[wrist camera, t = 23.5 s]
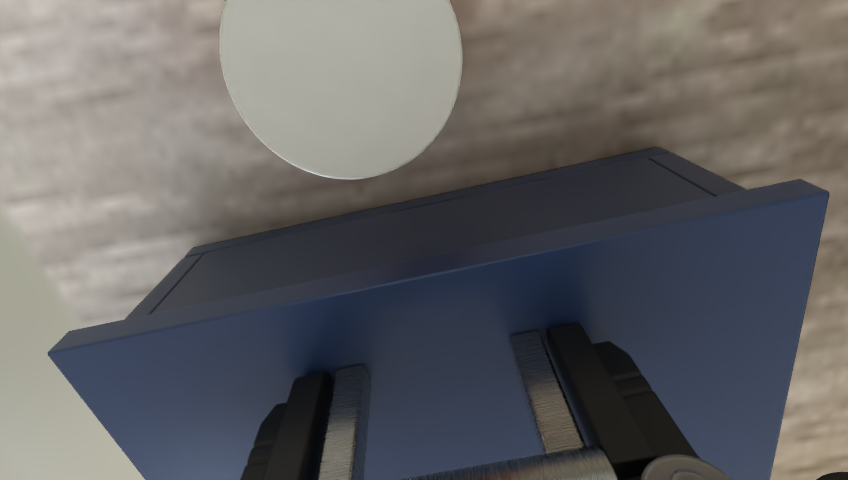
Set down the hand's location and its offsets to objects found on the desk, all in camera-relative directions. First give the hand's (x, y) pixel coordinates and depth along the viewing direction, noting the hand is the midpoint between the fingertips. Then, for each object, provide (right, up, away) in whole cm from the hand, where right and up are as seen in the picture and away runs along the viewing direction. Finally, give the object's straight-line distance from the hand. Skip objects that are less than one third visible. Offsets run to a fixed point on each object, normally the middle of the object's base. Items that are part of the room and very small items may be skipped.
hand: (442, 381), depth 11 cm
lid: (+1, -4, +3) cm, 5 cm away
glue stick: (-2, +9, +3) cm, 10 cm away
